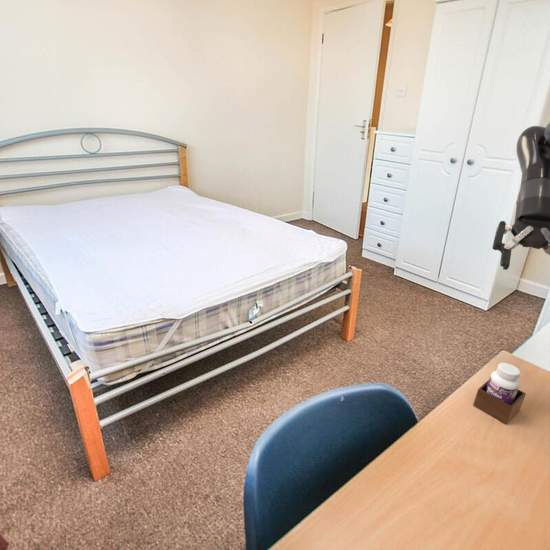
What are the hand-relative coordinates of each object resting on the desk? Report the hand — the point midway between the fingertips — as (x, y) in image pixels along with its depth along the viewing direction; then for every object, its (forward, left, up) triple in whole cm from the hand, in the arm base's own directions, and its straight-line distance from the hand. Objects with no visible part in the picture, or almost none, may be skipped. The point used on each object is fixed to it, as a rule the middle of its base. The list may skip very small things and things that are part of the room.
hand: (529, 272), depth 78 cm
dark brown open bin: (+2, +8, -29) cm, 30 cm away
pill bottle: (+2, +8, -28) cm, 29 cm away
